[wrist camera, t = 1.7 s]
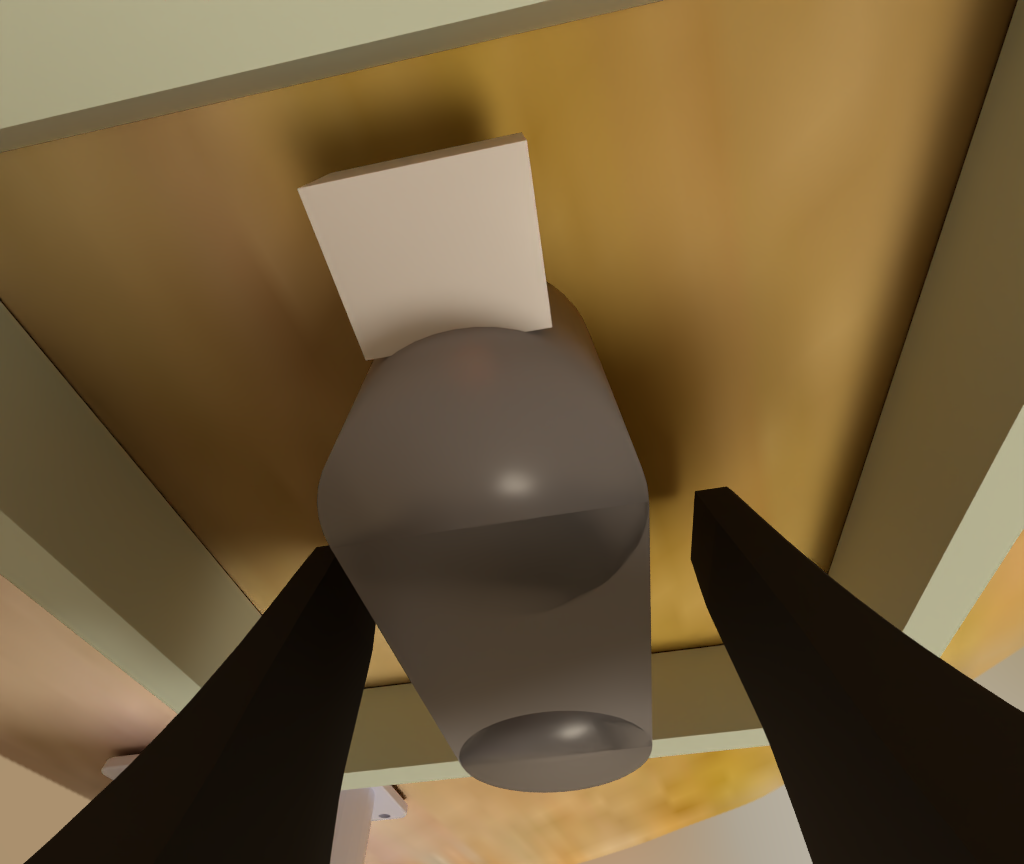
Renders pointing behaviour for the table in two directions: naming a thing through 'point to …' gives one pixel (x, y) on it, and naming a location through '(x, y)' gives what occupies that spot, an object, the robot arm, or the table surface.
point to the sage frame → (399, 709)
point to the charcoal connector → (486, 473)
